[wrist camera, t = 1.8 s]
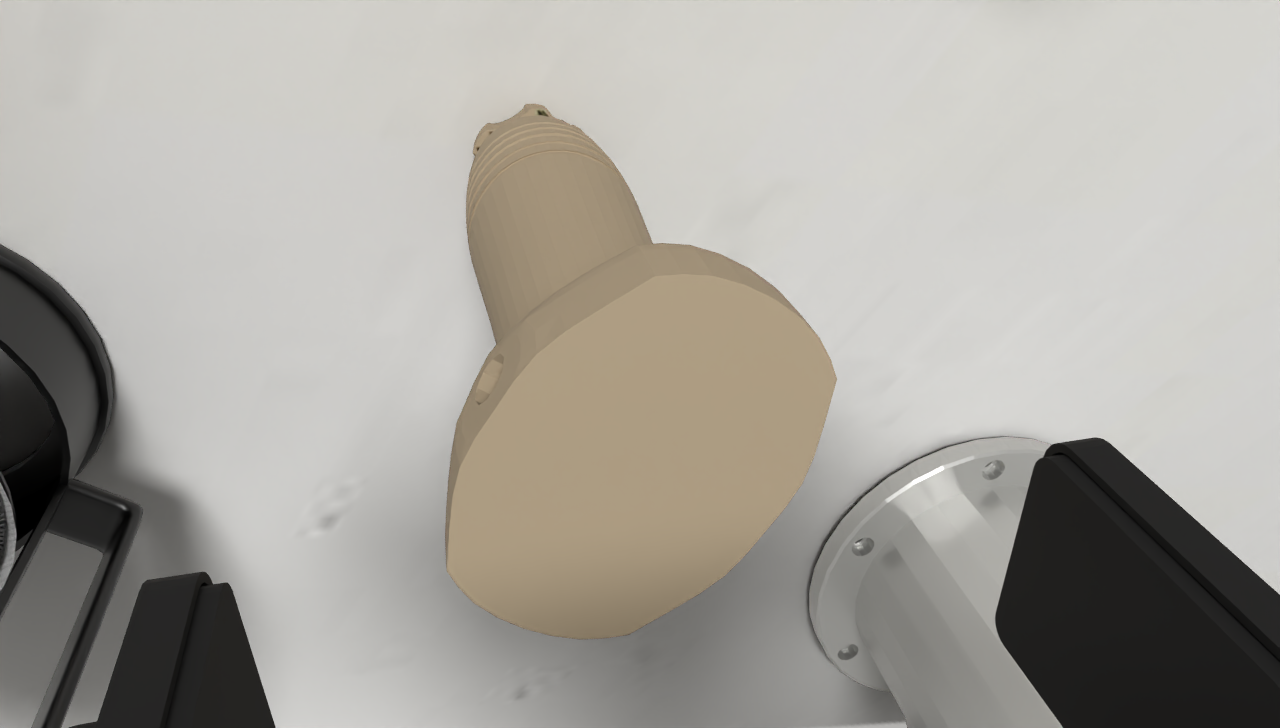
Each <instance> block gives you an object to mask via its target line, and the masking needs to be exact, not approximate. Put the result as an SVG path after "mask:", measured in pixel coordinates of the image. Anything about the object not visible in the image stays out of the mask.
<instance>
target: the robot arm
mask: <svg viewBox="0 0 1280 728" xmlns="http://www.w3.org/2000/svg"><path fill="white" fill-rule="evenodd" d="M809 613H810V617H811V620H812V624H813V627H814V631H815V634H816V636H817V637H818V639H819V641H820V643H821V645H822V647H823V649H824V651H825V653H826V655H827V657H828V658H829V659H830V660H831V661H832V663H833V664H834V665H835V666H836V667H837V668H838V670H839V671H840V672H842V673H843V674H845V675H846V676H848V677H849V678H851V679H852V680H854V681H855V682H857V683H859V684H862V685H865V686H867V687H870V688H873V689H875V690H880V691H886V692H891V693H892V694H893V696H894V698H895V700H896V702H897V704H898V705H899V707H900V709H901V711H902V713H903V714H904V716H905V718H906V724H907V728H1280V595H1279V594H1278V593H1277V592H1276V591H1275V590H1274V589H1273V588H1271V587H1270V586H1269V585H1268V584H1267V583H1266V582H1265V581H1264V580H1262V579H1261V578H1260V577H1259V576H1258V575H1257V574H1256V573H1255V572H1253V571H1252V570H1251V569H1250V568H1249V567H1248V566H1247V565H1246V564H1244V563H1243V562H1242V561H1241V560H1240V559H1239V558H1238V557H1237V556H1236V555H1234V554H1233V553H1232V552H1231V551H1230V550H1229V549H1228V548H1227V547H1225V546H1224V545H1223V544H1222V543H1221V542H1220V541H1219V540H1218V539H1216V538H1215V537H1214V536H1213V535H1212V534H1211V533H1210V532H1209V531H1208V530H1206V529H1205V528H1204V527H1203V526H1202V525H1201V524H1200V523H1199V522H1197V521H1196V520H1195V519H1194V518H1193V517H1192V516H1191V515H1190V514H1188V513H1187V512H1186V511H1185V510H1184V509H1183V508H1182V507H1181V506H1180V505H1178V504H1177V503H1176V502H1175V501H1174V500H1173V499H1172V498H1171V497H1169V496H1168V495H1167V494H1166V493H1165V492H1164V491H1163V490H1162V489H1160V488H1159V487H1158V486H1157V485H1156V484H1155V483H1154V482H1153V481H1151V480H1150V479H1149V478H1148V477H1147V476H1146V475H1145V474H1144V473H1143V472H1141V471H1140V470H1139V469H1138V468H1137V467H1136V466H1135V465H1134V464H1132V463H1131V462H1130V461H1129V460H1128V459H1127V458H1126V457H1125V456H1123V455H1122V454H1121V453H1120V452H1119V451H1118V450H1117V449H1116V448H1115V447H1113V446H1112V445H1111V444H1110V443H1108V442H1107V441H1105V440H1104V439H1101V438H1089V439H1083V440H1076V441H1069V442H1063V443H1057V444H1053V445H1051V444H1048V443H1045V442H1041V441H1038V440H1035V439H1027V438H1015V437H999V438H988V439H978V440H974V441H970V442H966V443H962V444H958V445H954V446H951V447H947V448H944V449H942V450H940V451H937V452H935V453H933V454H930V455H928V456H925V457H923V458H921V459H918V460H916V461H914V462H913V463H911V464H909V465H908V466H906V467H904V468H903V469H901V470H899V471H898V472H896V473H894V474H893V475H891V476H889V477H888V478H887V479H885V480H884V481H883V482H882V483H880V484H879V485H878V486H877V487H875V488H874V489H873V490H872V491H870V492H869V493H868V494H867V495H865V496H864V497H863V498H862V499H861V500H860V501H859V502H858V503H857V504H856V505H855V506H854V508H853V509H852V510H851V511H850V512H849V513H848V514H847V515H846V516H845V517H844V518H843V519H842V520H841V522H840V523H839V525H838V526H837V528H836V529H835V531H834V532H833V534H832V535H831V537H830V538H829V539H828V541H827V542H826V544H825V546H824V548H823V551H822V553H821V555H820V557H819V559H818V562H817V564H816V566H815V568H814V573H813V577H812V582H811V586H810V590H809ZM69 728H275V724H274V721H273V718H272V715H271V712H270V709H269V705H268V702H267V699H266V696H265V693H264V689H263V686H262V683H261V680H260V677H259V674H258V670H257V667H256V664H255V661H254V658H253V654H252V651H251V648H250V645H249V642H248V638H247V635H246V632H245V629H244V626H243V623H242V619H241V616H240V613H239V610H238V607H237V603H236V600H235V597H234V594H233V591H232V589H231V586H230V585H229V584H228V583H220V584H213V583H212V581H211V579H210V577H209V575H208V574H207V573H206V572H199V573H192V574H185V575H179V576H172V577H165V578H159V579H152V580H147V581H146V582H144V583H143V585H142V587H141V589H140V591H139V594H138V597H137V600H136V603H135V606H134V609H133V612H132V615H131V619H130V622H129V625H128V628H127V631H126V634H125V637H124V640H123V643H122V646H121V649H120V653H119V656H118V659H117V662H116V665H115V668H114V671H113V674H112V677H111V680H110V684H109V687H108V690H107V693H106V696H105V699H104V702H103V705H102V708H101V711H100V714H99V718H98V721H97V722H92V723H86V724H81V725H76V726H72V727H69Z"/></svg>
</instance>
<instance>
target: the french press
mask: <svg viewBox="0 0 1280 728" xmlns="http://www.w3.org/2000/svg"><path fill="white" fill-rule="evenodd" d="M0 348H1V349H2V350H3V351H4V352H5V353H6V354H7V355H8V356H9V357H10V358H11V359H12V360H13V361H14V362H15V363H16V364H17V365H18V366H19V367H20V368H21V369H22V370H23V371H24V372H25V373H26V374H27V375H28V376H29V377H30V379H31V380H32V382H33V383H34V384H35V386H36V387H37V389H38V390H39V392H40V393H41V394H42V396H43V397H44V399H45V400H46V402H47V404H48V406H49V408H50V411H51V413H52V416H53V418H54V420H55V423H54V425H53V428H52V430H51V433H50V435H49V436H48V438H47V439H46V440H45V442H44V443H43V444H42V446H41V447H40V448H39V449H38V450H36V451H35V452H34V453H33V454H32V455H30V456H29V457H28V458H27V459H26V460H24V461H23V462H21V463H19V464H17V465H15V466H13V467H11V468H9V469H7V470H5V471H3V472H1V471H0V620H1V618H2V617H3V615H4V613H5V611H6V609H7V607H8V605H9V603H10V601H11V599H12V597H13V595H14V593H15V591H16V589H17V587H18V585H19V583H20V581H21V580H22V578H23V576H24V574H25V572H26V570H27V568H28V566H29V564H30V562H31V560H32V558H33V556H34V554H35V552H36V550H37V548H38V546H39V544H40V543H41V541H42V539H43V537H44V535H45V533H46V532H49V533H52V534H55V535H58V536H61V537H64V538H67V539H69V540H72V541H75V542H78V543H81V544H84V545H87V546H90V547H93V548H95V549H97V550H99V551H100V552H102V553H103V558H102V560H101V563H100V565H99V567H98V570H97V572H96V574H95V577H94V579H93V582H92V584H91V586H90V589H89V591H88V594H87V596H86V598H85V601H84V603H83V605H82V608H81V610H80V613H79V615H78V617H77V620H76V622H75V625H74V627H73V629H72V632H71V634H70V637H69V639H68V641H67V644H66V646H65V648H64V651H63V653H62V656H61V658H60V660H59V663H58V665H57V668H56V670H55V672H54V675H53V677H52V680H51V682H50V684H49V687H48V689H47V691H46V694H45V696H44V699H43V701H42V703H41V706H40V708H39V711H38V713H37V715H36V718H35V720H34V722H33V725H32V727H31V728H61V727H62V724H63V722H64V719H65V717H66V714H67V711H68V709H69V706H70V704H71V701H72V698H73V696H74V693H75V691H76V688H77V686H78V683H79V680H80V678H81V675H82V673H83V670H84V667H85V665H86V662H87V660H88V657H89V654H90V652H91V649H92V647H93V644H94V641H95V639H96V636H97V634H98V631H99V629H100V626H101V623H102V621H103V618H104V616H105V613H106V610H107V608H108V605H109V603H110V600H111V597H112V595H113V592H114V590H115V587H116V584H117V582H118V579H119V577H120V574H121V571H122V569H123V566H124V564H125V561H126V559H127V556H128V553H129V551H130V548H131V546H132V543H133V540H134V538H135V535H136V533H137V530H138V527H139V525H140V522H141V518H142V514H143V509H142V508H141V507H140V505H139V504H137V503H136V502H134V501H131V500H129V499H126V498H124V497H121V496H118V495H116V494H113V493H110V492H108V491H105V490H102V489H99V488H97V487H94V486H91V485H89V484H86V483H83V482H81V481H78V480H75V479H73V478H74V477H75V476H77V475H78V474H79V473H80V472H81V471H82V470H83V469H84V467H85V466H86V465H87V463H88V462H89V461H90V460H91V458H92V457H93V456H94V454H95V453H96V452H97V450H98V448H99V446H100V444H101V442H102V439H103V437H104V435H105V432H106V430H107V427H108V425H109V423H110V418H111V411H112V404H113V397H114V394H113V386H112V377H111V369H110V364H109V362H108V359H107V356H106V354H105V351H104V348H103V345H102V343H101V340H100V337H99V336H98V334H97V333H96V331H95V329H94V328H93V326H92V325H91V323H90V322H89V320H88V318H87V317H86V315H85V314H84V312H83V311H82V309H81V308H80V307H79V306H78V305H77V304H76V303H75V302H74V301H73V299H72V298H71V297H70V296H69V295H68V294H67V293H66V292H65V291H64V290H63V289H62V288H61V286H60V285H59V284H58V283H57V282H55V281H54V280H53V279H51V278H50V277H49V276H48V275H46V274H45V273H44V272H42V271H41V270H40V269H38V268H37V267H36V266H35V265H33V264H32V263H31V262H29V261H28V260H27V259H25V258H23V257H22V256H20V255H18V254H16V253H14V252H13V251H11V250H9V249H7V248H5V247H4V246H2V245H0ZM23 545H24V547H23V549H22V551H21V553H20V555H19V557H18V558H17V560H16V562H15V564H14V566H13V568H12V565H13V563H14V556H15V551H17V550H18V549H20V548H21V547H22V546H23ZM11 568H12V570H11ZM10 570H11V572H10Z"/></svg>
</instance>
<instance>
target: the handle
mask: <svg viewBox="0 0 1280 728" xmlns="http://www.w3.org/2000/svg"><path fill="white" fill-rule="evenodd" d="M473 154H474V155H475V158H474V161H473V164H472V167H471V171H470V174H469V181H468V188H467V198H466V224H467V235H468V243H469V250H470V255H471V260H472V264H473V267H474V270H475V274H476V277H477V280H478V284H479V287H480V290H481V293H482V297H483V300H484V303H485V306H486V310H487V313H488V316H489V320H490V323H491V326H492V330H493V334H494V337H495V341H496V346H495V347H494V349H493V350H492V351H491V352H490V353H489V354H488V356H487V358H486V360H485V362H484V364H483V366H482V368H481V370H480V372H479V374H478V376H477V378H476V380H475V382H474V384H473V386H472V389H471V391H470V394H469V396H468V398H467V400H466V403H465V405H464V407H463V409H462V412H461V414H460V416H459V419H458V421H457V424H456V430H455V435H454V441H453V447H452V453H451V461H450V470H449V479H448V492H447V507H446V527H445V544H446V567H447V572H448V573H449V575H450V576H451V578H452V579H453V580H454V582H455V583H456V585H457V586H458V587H459V588H460V589H461V590H462V592H463V593H464V594H465V595H466V596H467V597H468V598H469V599H470V600H471V601H472V602H473V603H475V604H476V605H478V606H479V607H481V608H483V609H484V610H486V611H487V612H489V613H491V614H492V615H494V616H495V617H497V618H500V619H502V620H504V621H507V622H509V623H512V624H514V625H516V626H519V627H521V628H524V629H527V630H531V631H535V632H539V633H543V634H547V635H550V636H556V637H565V638H573V639H600V638H610V637H617V636H624V635H629V634H631V633H632V632H634V631H636V630H638V629H640V628H641V627H643V626H645V625H647V624H648V623H650V622H652V621H654V620H656V619H657V618H659V617H661V616H663V615H664V614H666V613H668V612H670V611H671V610H673V609H675V608H676V607H678V606H680V605H681V604H683V603H685V602H687V601H688V600H690V599H692V598H693V597H695V596H697V595H698V594H700V593H702V592H703V591H704V590H706V589H707V588H708V587H710V586H711V585H713V584H714V583H715V582H717V581H718V580H720V579H721V578H722V577H724V576H725V575H726V574H727V573H728V572H729V571H730V570H731V569H732V568H733V567H734V566H735V565H736V564H737V563H738V562H739V561H740V560H741V559H742V558H743V557H744V556H745V555H746V554H747V553H748V552H749V550H750V549H751V548H752V547H753V546H754V545H755V543H756V542H757V541H758V540H759V539H760V537H761V536H762V535H763V534H764V533H765V531H766V530H767V529H768V528H769V527H770V526H771V524H772V523H773V522H774V521H775V520H776V518H777V517H778V516H779V515H780V514H781V512H782V511H783V510H784V509H785V508H786V506H787V505H788V503H789V502H790V500H791V499H792V498H793V496H794V495H795V493H796V492H797V490H798V489H799V487H800V486H801V485H802V483H803V481H804V478H805V476H806V474H807V472H808V469H809V467H810V465H811V463H812V460H813V458H814V455H815V452H816V449H817V446H818V442H819V439H820V436H821V433H822V430H823V427H824V423H825V420H826V416H827V413H828V409H829V406H830V402H831V398H832V395H833V391H834V388H835V384H836V381H837V378H836V375H835V372H834V369H833V366H832V362H831V359H830V357H829V355H828V353H827V351H826V349H825V348H824V346H823V344H822V342H821V340H820V338H819V337H818V336H817V334H816V333H815V332H814V330H813V329H812V328H811V327H810V325H809V324H808V323H807V322H806V321H805V319H804V318H803V317H802V316H801V315H800V313H799V312H798V311H797V310H796V309H795V308H794V307H793V306H792V305H791V303H790V302H789V301H788V300H787V299H786V298H785V297H784V296H783V295H782V294H781V293H780V291H778V290H777V289H776V288H775V287H774V286H773V285H771V284H770V283H769V282H767V281H766V280H764V279H763V278H762V277H760V276H759V275H758V274H756V273H755V272H754V271H752V270H751V269H749V268H747V267H745V266H743V265H741V264H739V263H737V262H735V261H733V260H731V259H729V258H727V257H725V256H723V255H721V254H719V253H715V252H712V251H708V250H705V249H701V248H698V247H695V246H691V245H682V244H666V243H659V244H653V243H652V240H651V238H650V235H649V233H648V230H647V228H646V225H645V223H644V220H643V218H642V215H641V213H640V210H639V207H638V205H637V203H636V201H635V198H634V196H633V194H632V192H631V191H630V189H629V187H628V185H627V183H626V182H625V180H624V178H623V177H622V175H621V174H620V172H619V171H618V169H617V168H616V166H615V165H614V163H613V162H612V161H611V159H610V158H609V157H608V156H607V155H606V154H605V153H604V152H603V151H602V149H601V148H600V147H599V146H598V145H597V144H596V143H595V142H594V141H593V140H592V139H591V138H589V137H588V136H587V135H585V133H584V132H583V131H582V130H581V129H579V128H578V127H576V126H574V125H570V124H568V123H566V122H564V121H562V120H559V119H556V118H554V117H553V116H552V115H551V114H550V112H549V111H548V110H547V109H546V108H545V107H544V106H542V105H538V104H526V105H525V106H524V108H523V109H522V110H521V111H520V112H519V113H518V114H516V115H515V116H513V117H512V118H510V119H508V120H505V121H503V122H500V123H496V124H491V123H487V124H486V125H485V126H484V127H483V128H482V129H481V131H480V132H479V134H478V136H477V138H476V140H475V143H474V149H473Z"/></svg>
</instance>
